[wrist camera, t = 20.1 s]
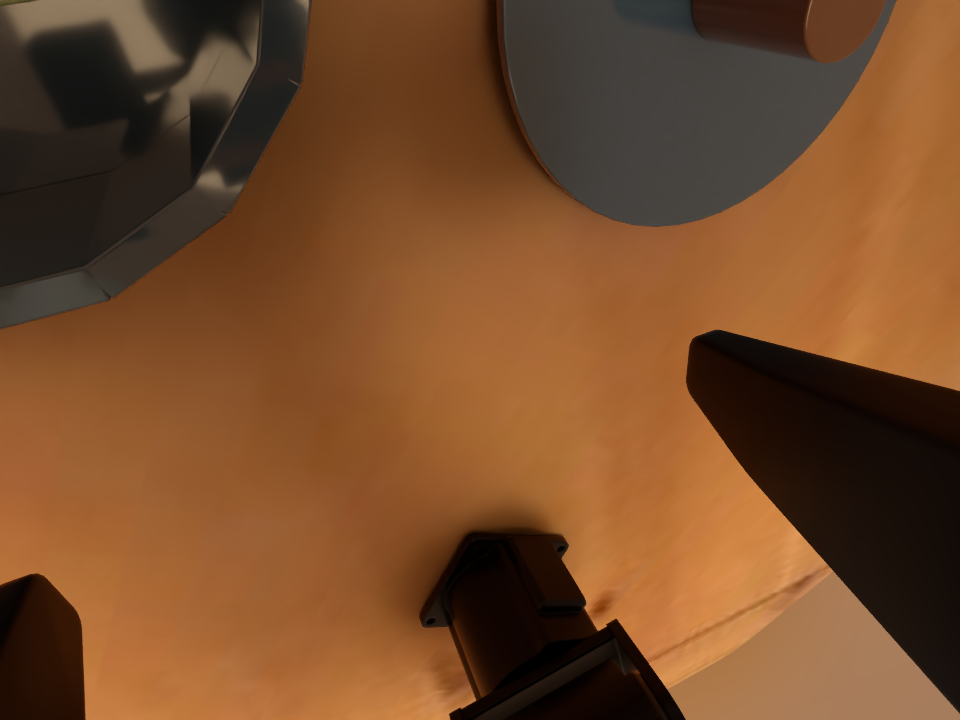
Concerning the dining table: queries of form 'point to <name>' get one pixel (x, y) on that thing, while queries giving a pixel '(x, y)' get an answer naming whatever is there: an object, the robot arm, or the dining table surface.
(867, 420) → the robot arm
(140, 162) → the pot
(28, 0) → the block
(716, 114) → the lid
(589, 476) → the dining table surface
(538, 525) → the dining table surface
